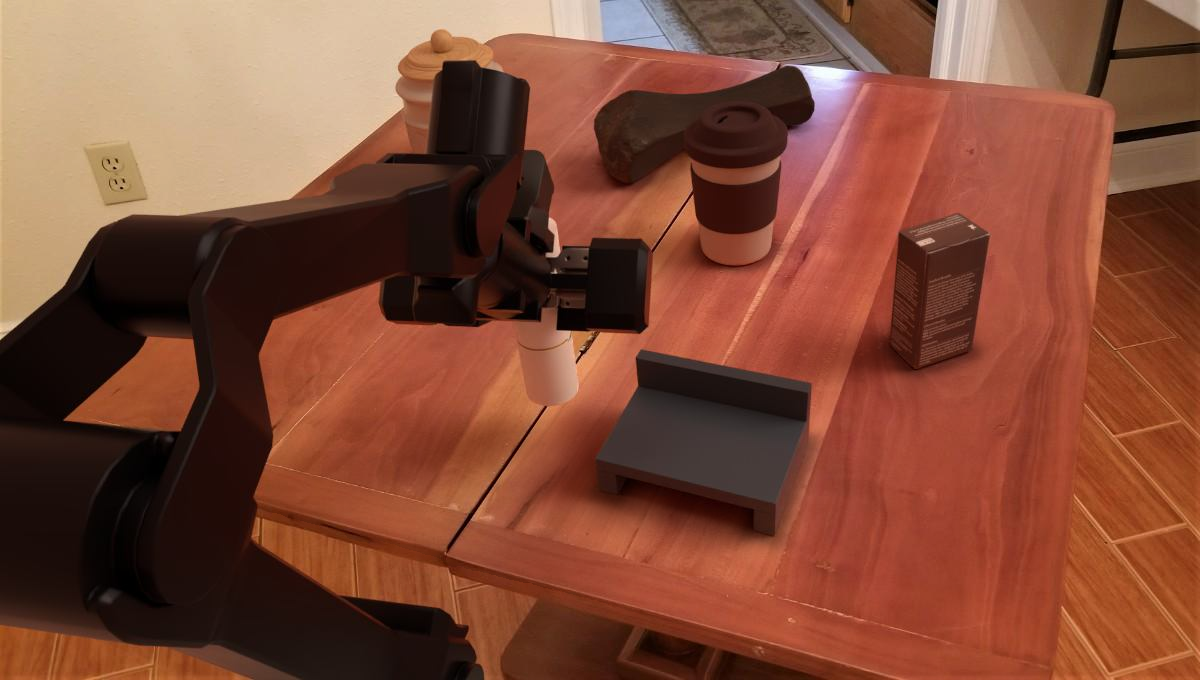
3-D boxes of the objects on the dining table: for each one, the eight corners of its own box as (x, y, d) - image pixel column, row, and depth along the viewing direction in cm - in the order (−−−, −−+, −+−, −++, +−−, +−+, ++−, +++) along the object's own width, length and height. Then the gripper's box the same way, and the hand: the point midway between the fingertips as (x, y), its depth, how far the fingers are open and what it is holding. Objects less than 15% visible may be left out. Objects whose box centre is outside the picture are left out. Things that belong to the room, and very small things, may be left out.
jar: (513, 189, 113) (488, 46, 102) (407, 197, 114) (372, 56, 103) (522, 140, 123) (501, 6, 112) (425, 148, 124) (395, 15, 113)
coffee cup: (802, 257, 96) (808, 121, 87) (716, 285, 93) (713, 148, 84) (753, 214, 103) (754, 85, 94) (672, 239, 101) (665, 109, 92)
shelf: (774, 536, 68) (776, 474, 64) (599, 490, 73) (590, 430, 69) (808, 443, 75) (812, 382, 71) (645, 407, 80) (640, 348, 76)
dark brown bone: (607, 203, 112) (799, 163, 122) (629, 146, 103) (834, 108, 113) (574, 133, 116) (763, 100, 126) (592, 73, 107) (794, 42, 117)
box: (941, 324, 85) (959, 209, 78) (972, 352, 82) (995, 235, 74) (883, 343, 84) (896, 227, 77) (913, 372, 81) (930, 254, 73)
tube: (560, 412, 74) (534, 250, 65) (516, 396, 76) (485, 237, 67) (588, 380, 76) (568, 220, 67) (545, 366, 78) (519, 209, 69)
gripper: (639, 133, 56) (670, 203, 72) (353, 133, 60) (440, 200, 75) (627, 315, 55) (662, 347, 70) (335, 304, 59) (428, 337, 74)
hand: (545, 302), depth 73 cm, fingers closed on tube, 4 cm apart
